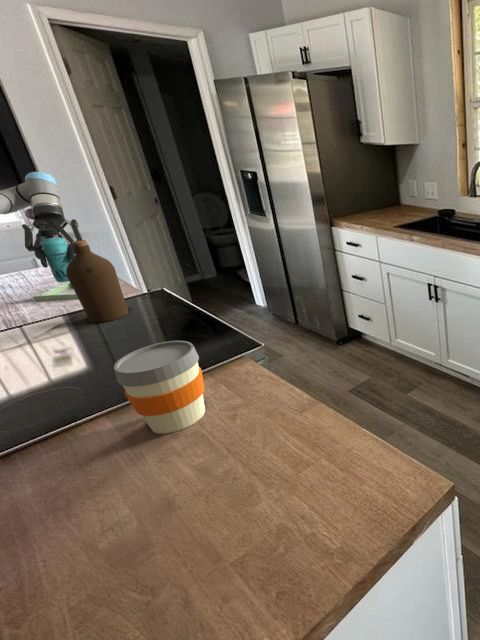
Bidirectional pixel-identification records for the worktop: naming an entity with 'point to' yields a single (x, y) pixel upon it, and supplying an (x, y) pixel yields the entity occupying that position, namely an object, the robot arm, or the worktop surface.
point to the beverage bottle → (56, 254)
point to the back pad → (49, 294)
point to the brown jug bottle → (96, 285)
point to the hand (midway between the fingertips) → (59, 263)
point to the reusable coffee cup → (164, 384)
